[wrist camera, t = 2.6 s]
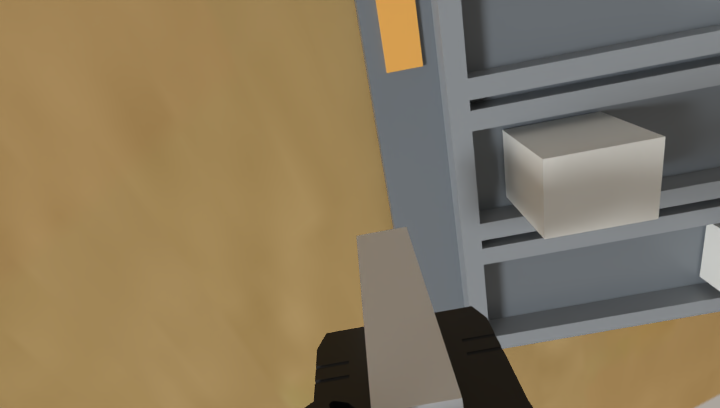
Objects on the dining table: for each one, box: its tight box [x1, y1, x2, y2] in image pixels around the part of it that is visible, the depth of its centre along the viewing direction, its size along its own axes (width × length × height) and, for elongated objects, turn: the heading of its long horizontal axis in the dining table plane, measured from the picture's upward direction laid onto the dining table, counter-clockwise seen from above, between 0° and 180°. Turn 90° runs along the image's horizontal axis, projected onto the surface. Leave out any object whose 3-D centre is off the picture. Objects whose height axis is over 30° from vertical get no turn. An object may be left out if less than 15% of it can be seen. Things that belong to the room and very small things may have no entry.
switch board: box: [354, 0, 720, 349], centre depth 19 cm, size 18×24×3 cm
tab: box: [502, 112, 666, 239], centre depth 17 cm, size 3×4×4 cm
